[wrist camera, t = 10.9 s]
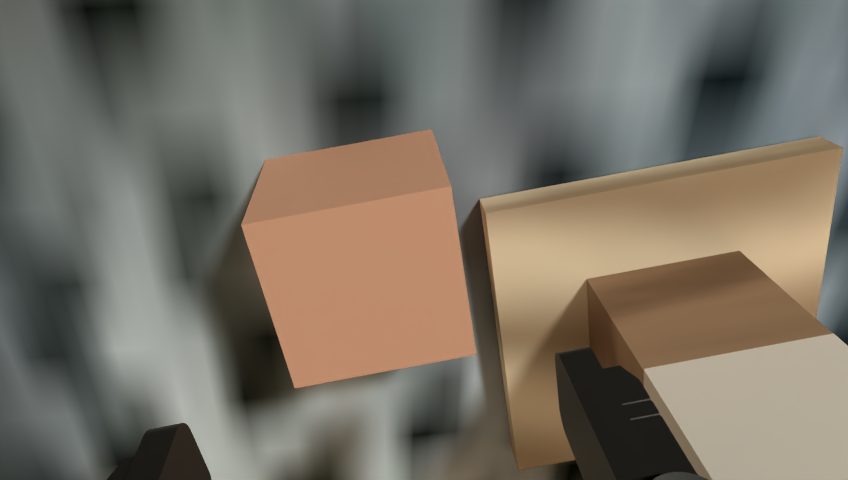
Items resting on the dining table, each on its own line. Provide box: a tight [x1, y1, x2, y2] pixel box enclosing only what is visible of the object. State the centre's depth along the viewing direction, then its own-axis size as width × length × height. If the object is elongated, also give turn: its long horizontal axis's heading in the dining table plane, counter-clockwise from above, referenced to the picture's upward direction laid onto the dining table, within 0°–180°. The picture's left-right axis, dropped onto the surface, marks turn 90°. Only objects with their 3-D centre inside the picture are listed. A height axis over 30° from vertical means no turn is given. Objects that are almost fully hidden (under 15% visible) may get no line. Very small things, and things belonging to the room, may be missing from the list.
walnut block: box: [587, 251, 832, 386], centre depth 22 cm, size 6×6×5 cm
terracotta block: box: [241, 129, 476, 388], centre depth 20 cm, size 6×6×5 cm
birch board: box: [480, 136, 843, 470], centre depth 24 cm, size 12×12×1 cm
